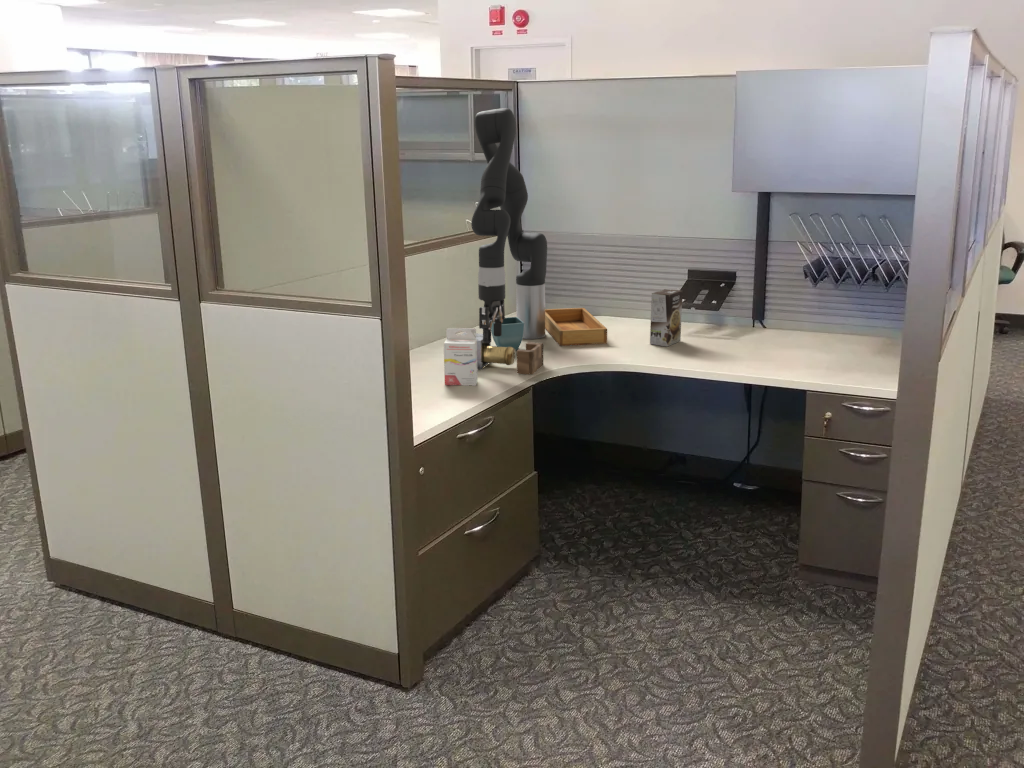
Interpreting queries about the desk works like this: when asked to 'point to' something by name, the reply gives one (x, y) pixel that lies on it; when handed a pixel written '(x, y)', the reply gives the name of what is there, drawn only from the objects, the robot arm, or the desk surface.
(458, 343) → the ink cartridge box
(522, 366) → the socket
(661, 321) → the coffee box
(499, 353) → the tube
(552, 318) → the tray
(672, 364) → the desk surface
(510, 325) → the flower pot
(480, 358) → the sleeve
